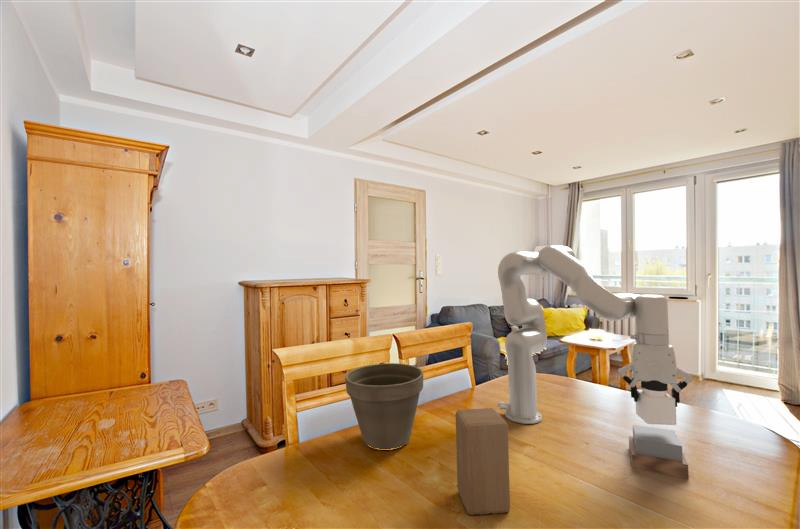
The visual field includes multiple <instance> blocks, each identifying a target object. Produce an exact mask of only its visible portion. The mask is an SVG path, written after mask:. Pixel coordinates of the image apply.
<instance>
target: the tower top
mask: <svg viewBox="0 0 800 529" xmlns="http://www.w3.org/2000/svg"><path fill="white" fill-rule="evenodd" d="M632 437H633V440H634V444H635V449H636V453H637V454H642V455H647V456H653V457H658V458H664V459H670V460H675V461H681V462H683V456H682V452H683V445H682V443H681V441H680V438H679V437H678V434H677V433H676V431H675V430H673V429H672V430H671V429H665V428H659V427H653V426H645V425H640V424H632Z"/></svg>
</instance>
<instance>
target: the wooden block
mask: <svg viewBox="0 0 800 529" xmlns="http://www.w3.org/2000/svg"><path fill="white" fill-rule="evenodd" d="M455 436H456V437H455V441H456V442H455V444H456V445H455V447H456V475H457V476H456V479H457V480H456V481H457V482H456V483H457V486H456V487H457V491H458V493H459V496H460V498H461V501H462V503H463V506H464V509H465V511H466V513H467V515H469V514H471V515H470V516H473V515H472V514H480V515H489V513H492V514H501V513H502V514H503V513H508V512H510V510H511V490H510V489H511V488H510V486H511V485H510V461H509V460H510V459H509V458H510V457H509V456H510V455H509V453H510V452H509V451H510V450H509V425H508V423H507V421H506V420H505V419H504V417H502V415H501V414H500V413H499V412H498V411H497V410H496V409H495V408H493V407H492V408H491V407H489V408H474V409H473V408H470V409H458V410H456V413H455Z"/></svg>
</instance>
